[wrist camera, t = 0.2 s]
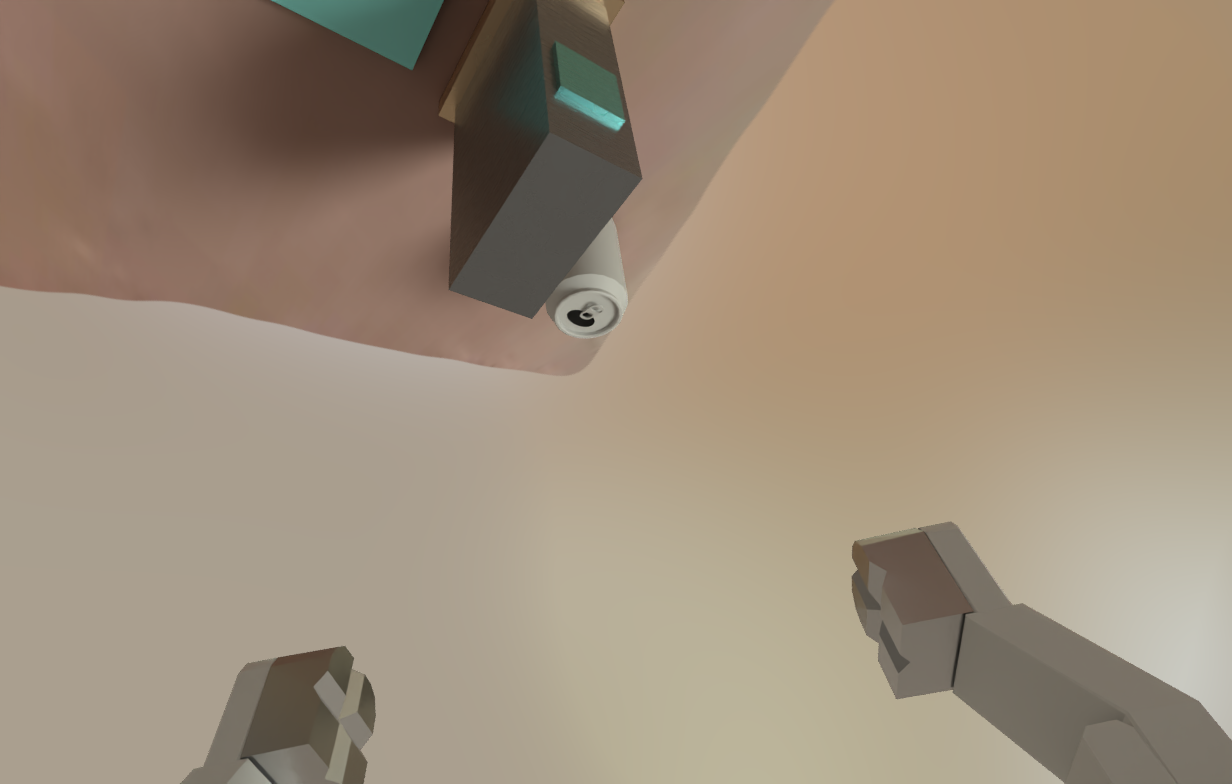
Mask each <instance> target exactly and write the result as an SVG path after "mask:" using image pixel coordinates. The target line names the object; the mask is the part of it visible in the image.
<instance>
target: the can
mask: <svg viewBox="0 0 1232 784" xmlns="http://www.w3.org/2000/svg"><path fill="white" fill-rule="evenodd" d="M627 304H628V299H627V290H626V284H625V278H624V272H623V266H622V260H621V254H620V248H619V242H618V236H617V230H616V225H615V223H614V221H613V219H612V218H611V219H610V220H609V222H608V223H607V224H606V225H605V227H604V228H603V229H602V230H601V232H600V233H599V234H598V236H597V237H596V238H595V239H594V241H593V242H592V243H591V244H590V246H589V247H588V248H587V250H586V251H585V252H584V253H583V255H582V256H581V257H580V258H579V260H578V261H577V262H576V264H575V265H574V266H573V267H572V269H571V270H570V271H569V272H568V274H567V275H566V276H565V278H564V279H563V280H562V281H561V283H560V284H559V285H558V286H557V288H556V289H555V290H554V291H553V293H552V294H551V295H550V297H549V298H548V299H547V300H546V309H547V313H548V315H549V316H550V318H551V319H552V321H554V322H555V324H556V326H557V327H558V328H559V330H561V331H562V332H564V333H565V334H567V335H570V336H572V337H575V338H585V339H586V338H595V337H599V336H602V335H605V334H607V333H608V332H610V331H612V330H613V329H614V328H615V327H616V326H617V325H618V324H619V323H620V321H621V319H622V316H623V313H624V312H625V309H626V307H627Z"/></svg>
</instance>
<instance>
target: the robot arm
mask: <svg viewBox="0 0 1232 784" xmlns="http://www.w3.org/2000/svg"><path fill="white" fill-rule="evenodd" d="M852 558H853V560H854V562H855V565H856V567H857V569H858V570H857V571H856V572H855V573H854V574H853V576H852V593H853V597H854V602H855V607H856V610H857V613H858V616H859V619H860V622H861V624H862V626H863V628H864V630H865V633H866V635H867V636H869V637H870V638H872V639H873V640H875V641H876V642H878V643H879V653H878V661H879V663H880V665H881V667H882V670H883V672H884V674H885V676H886V678H887V680H888V682H889V684H890V687H891V689H892V691H893V693H894V695H895V697H896V699H900V698H906V697H912V696H918V695H924V694H930V693H936V692H941V691H948V690H953V693H954V694H955V695H956V696H958V697H959V698H960V699H961V700H962V701H964V702H965V703H966V704H967V705H969V706H970V707H971V708H972V709H974V710H975V711H976V712H977V713H979V714H980V715H981V716H982V717H984V718H985V719H986V720H988V721H989V722H990V723H991V724H992V725H994V726H995V727H996V728H997V729H999V730H1000V731H1001V732H1002V733H1003V734H1005V735H1006V736H1007V737H1008V738H1010V739H1011V740H1012V741H1013V742H1015V743H1016V744H1017V745H1018V746H1020V747H1021V748H1022V749H1023V750H1025V751H1026V752H1027V753H1028V754H1030V755H1031V756H1032V757H1033V758H1034V759H1036V760H1037V761H1038V762H1039V763H1041V764H1042V765H1043V766H1044V767H1046V768H1047V769H1048V770H1049V771H1051V772H1052V773H1053V774H1055V775H1056V776H1057V777H1058V778H1059V779H1061V780H1062V781H1063V782H1064V784H1232V740H1231V739H1230V738H1229V737H1228V736H1227V734H1226V733H1225V732H1224V731H1223V730H1222V729H1221V727H1220V726H1219V725H1218V724H1217V722H1216V721H1215V720H1214V719H1213V718H1212V716H1211V715H1210V714H1209V713H1208V712H1207V710H1206V709H1205V708H1204V707H1203V706H1202V704H1201V703H1200V702H1199V701H1197V700H1195V699H1194V698H1192V697H1190V696H1188V695H1187V694H1185V693H1183V692H1181V691H1179V690H1177V689H1176V688H1174V687H1172V686H1170V685H1168V684H1167V683H1165V682H1163V681H1161V680H1159V679H1158V678H1156V677H1154V676H1152V675H1151V674H1149V673H1147V672H1145V671H1143V670H1142V669H1140V668H1138V667H1136V666H1134V665H1133V664H1131V663H1129V662H1127V661H1125V660H1124V659H1122V658H1120V657H1118V656H1116V655H1115V654H1113V653H1111V652H1109V651H1107V650H1105V649H1104V648H1102V647H1100V646H1098V645H1096V644H1095V643H1093V642H1091V641H1089V640H1088V639H1086V638H1084V637H1082V636H1080V635H1079V634H1077V633H1075V632H1073V631H1071V630H1070V629H1068V628H1066V627H1064V626H1062V625H1061V624H1059V623H1057V622H1055V621H1053V620H1052V619H1050V618H1048V617H1046V616H1044V615H1042V614H1041V613H1039V612H1037V611H1035V610H1033V609H1032V608H1030V607H1028V606H1026V605H1025V604H1023V603H1022V604H1016V605H1012V603H1011V602H1010V601H1009V599H1008V598H1007V596H1006V595H1005V593H1004V592H1003V591H1002V589H1001V588H1000V586H999V585H998V583H997V582H996V580H995V579H994V578H993V576H992V575H991V573H990V572H989V570H988V569H987V567H986V566H985V565H984V563H983V562H982V560H981V559H980V557H979V556H978V555H977V553H976V552H975V550H974V549H973V547H972V546H971V545H970V543H969V542H968V540H967V539H966V537H965V536H964V534H963V533H962V532H961V530H960V529H959V527H958V526H957V525H956V524H954V523H952V522H946V523H941V524H936V525H931V526H926V527H921V528H918V529H916V528H913V529H909V530H904V531H899V532H894V533H890V534H886V535H881V536H876V537H872V538H867V539H862V540H858V541H855V542H854V544H853V546H852ZM353 660H354V657H353V656H352V655H351V653H350V652H349V651H348V650H347V648H346V647H345V646H342V647H335V648H330V649H324V650H318V651H313V652H307V653H301V654H296V655H290V656H285V657H278V658H273V659H269V660H263V661H258V662H253V663H248V664H246V665H245V667H244V668H243V669H242V670H241V671H240V673H239V674H238V676H237V679H236V681H235V684H234V687H233V690H232V692H231V694H230V697H229V700H228V702H227V705H226V708H225V710H224V713H223V716H222V719H221V721H220V724H219V726H218V729H217V732H216V734H215V737H214V740H213V743H212V745H211V748H210V750H209V753H208V756H207V758H206V761H205V764H204V766H203V767H201V768H197V769H193V770H192V772H191V773H190V774H189V775H188V776H187V777H186V778H185V779H184V780H183V781H182V783H180V784H363V783H364V778H365V772H366V767H367V761H366V759H365V757H364V755H363V753H362V752H361V748H362V747H363V746H364V745H365V743H366V742H367V741H368V739H369V738H370V737H371V735H372V734H373V729H374V722H375V716H376V713H375V696H374V693H373V690H372V687H371V684H370V682H369V680H368V679H367V677H366V676H365V675H364V674H362V673H360V672H358V671H355V670H353V669H352V665H353Z"/></svg>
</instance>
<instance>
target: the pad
mask: <svg viewBox="0 0 1232 784" xmlns="http://www.w3.org/2000/svg"><path fill="white" fill-rule="evenodd" d="M271 1H273V2H276V3H278V4H280V5H282V6H284V7H286V8H288V9H290V10H292V11H294V12H296V13H298V14H300V15H302V16H304V17H306V18H308V19H310V20H312V21H314V22H316V23H318V24H320V25H322V26H324V27H326V28H328V29H330V30H332V31H334V32H336V33H338V34H340V35H342V36H344V37H346V38H348V39H350V40H352V41H354V42H356V43H358V44H360V45H362V46H364V47H366V48H368V49H370V50H372V51H374V52H376V53H378V54H380V55H382V56H384V57H386V58H388V59H390V60H392V61H394V62H396V63H398V64H400V65H402V66H404V67H406V68H408V69H410V70H413V67H414V65H415V63H416V61H417V58H418V56H419V54H420V52H421V50H422V47H423V45H424V43H425V41H426V39H427V36H428V34H429V32H430V30H431V27H432V25H433V23H434V21H435V19H436V16H437V14H438V12H439V10H440V8H441V5H442V3H443V1H444V0H271Z"/></svg>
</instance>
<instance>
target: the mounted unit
mask: <svg viewBox="0 0 1232 784" xmlns="http://www.w3.org/2000/svg"><path fill="white" fill-rule="evenodd" d="M624 3H625V2H624V0H489V2H488V4H487V6H486V8H485V10H484V12H483V14H482V16H481V18H480V20H479V22H478V24H477V26H476V28H475V30H474V33H473V35H472V37H471V39H470V41H469V43H468V45H467V47H466V49H465V51H464V53H463V55H462V57H461V59H460V61H459V63H458V65H457V67H456V69H455V71H454V73H453V75H452V77H451V79H450V81H449V83H448V85H447V87H446V89H445V91H444V93H443V95H442V97H441V99H440V101H439V113H438V116H440V117H442V118H445V119H447V120H449V121H451V122H453V123H455V129H454V156H453V184H452V212H451V239H450V267H449V290H451V291H453V292H456V293H459V294H462V295H465V296H468V297H471V298H474V299H477V300H479V301H482V302H485V303H488V304H491V305H494V306H497V307H500V308H502V309H505V310H508V311H511V312H514V313H517V314H520V315H523V316H525V317H528V318H531V319H532V318H533V317H534V316H535V314H536V313H537V312H538V311H539V309H540V308H541V307H542V305H543V304H544V303H545V302H546V300H547V299H548V298H549V297H550V295H551V294H552V293H553V291H554V290H555V289H556V288H557V286H558V285H559V284H560V283H561V281H562V280H563V279H564V278H565V276H566V275H567V274H568V272H569V271H570V270H571V269H572V267H573V266H574V265H575V264H576V262H577V261H578V260H579V258H580V257H581V256H582V255H583V253H584V252H585V251H586V250H587V248H588V247H589V246H590V244H591V243H592V242H593V241H594V239H595V238H596V237H597V236H598V234H599V233H600V232H601V230H602V229H603V228H604V227H605V225H606V224H607V223H608V222H609V220H610V219H611V218H612V217H613V215H614V214H615V213H616V211H617V210H618V209H619V208H620V206H621V205H622V204H623V203H624V201H625V200H626V199H627V197H628V196H629V195H630V194H631V192H632V191H633V190H634V189H635V187H636V186H637V185H638V183H639V182H640V181H641V180H642V175H641V170H640V166H639V161H638V156H637V152H636V147H635V142H634V137H633V133H632V128H631V123H630V119H629V114H628V109H627V105H626V100H625V95H624V91H623V86H622V81H621V77H620V72H619V67H618V63H617V58H616V53H615V49H614V44H613V39H612V35H611V30H610V25H611V23H612V22H613V20H614V19H615V17H616V15H617V14H618V12H619V11H620V9H621V8H622V6H623V4H624Z"/></svg>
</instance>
